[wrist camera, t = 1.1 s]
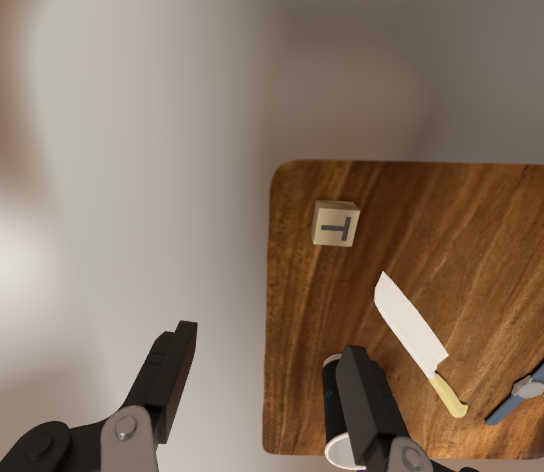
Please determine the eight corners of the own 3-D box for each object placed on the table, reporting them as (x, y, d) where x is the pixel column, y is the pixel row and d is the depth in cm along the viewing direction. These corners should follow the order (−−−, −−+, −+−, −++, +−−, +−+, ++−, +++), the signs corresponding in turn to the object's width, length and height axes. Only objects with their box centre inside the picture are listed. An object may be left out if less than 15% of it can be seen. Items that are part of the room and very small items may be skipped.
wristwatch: (584, 342, 36) (592, 348, 35) (498, 423, 45) (502, 430, 44) (557, 338, 36) (564, 343, 35) (475, 420, 45) (479, 426, 44)
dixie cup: (303, 357, 38) (312, 445, 28) (354, 338, 36) (383, 425, 27) (326, 387, 41) (342, 476, 32) (374, 371, 40) (407, 460, 30)
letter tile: (310, 233, 29) (313, 245, 27) (315, 198, 27) (319, 208, 25) (345, 235, 29) (352, 247, 27) (353, 201, 28) (360, 211, 25)
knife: (399, 265, 30) (363, 287, 31) (481, 411, 42) (454, 424, 43) (393, 260, 32) (359, 281, 32) (475, 403, 44) (448, 417, 44)
